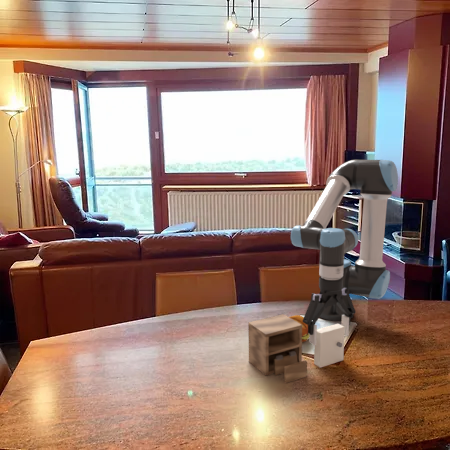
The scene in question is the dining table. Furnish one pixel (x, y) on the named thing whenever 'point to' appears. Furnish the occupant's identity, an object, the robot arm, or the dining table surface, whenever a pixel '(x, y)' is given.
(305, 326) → the cheeseburger
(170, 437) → the dining table surface
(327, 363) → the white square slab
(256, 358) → the cabinet
